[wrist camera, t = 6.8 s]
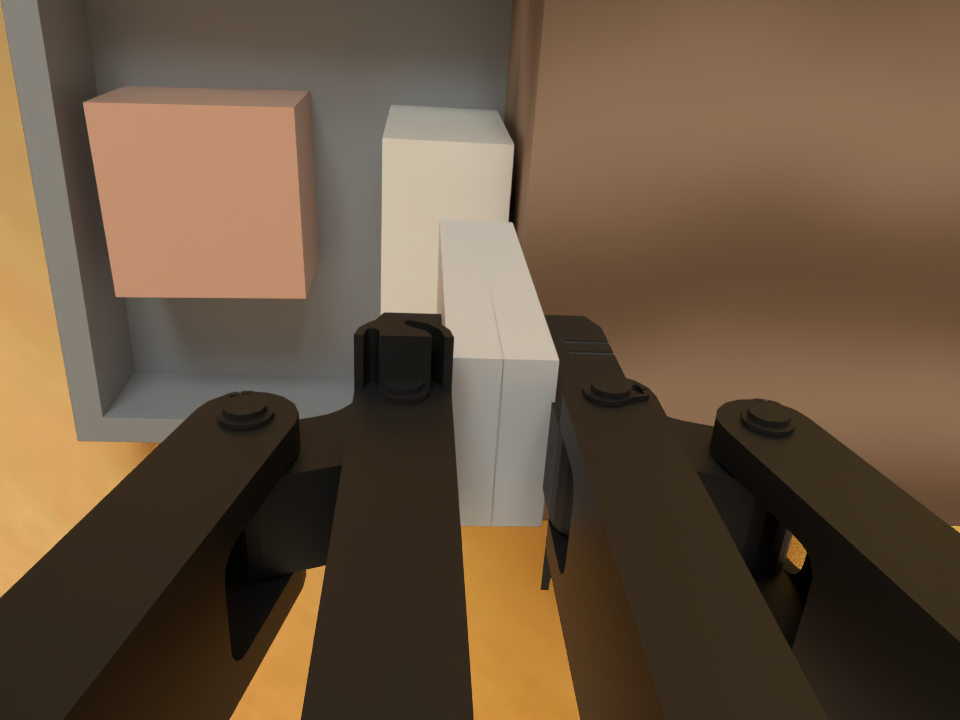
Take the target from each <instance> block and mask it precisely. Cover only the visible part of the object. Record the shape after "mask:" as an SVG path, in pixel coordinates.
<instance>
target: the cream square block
mask: <svg viewBox="0 0 960 720" xmlns="http://www.w3.org/2000/svg"><path fill="white" fill-rule="evenodd" d="M513 156H514V143H513V141H512V139H511V137H510V135H509V133H508V131H507V129H506V127H505V125H504V123H503V121H502V119H501V117H500V115H499V113H498V111H497V110H481V109H463V108H444V107H426V106H407V105H391V106H390V110H389V114H388V118H387V122H386V126H385V130H384V134H383V138H382V227H381V315H382V314H383V313H384V312H391V313H426V314H436V309H437V280H438V252H439V224H440V220H464V221H490V222H508V220H509V207H510V195H511V182H512V169H513Z"/></svg>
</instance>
